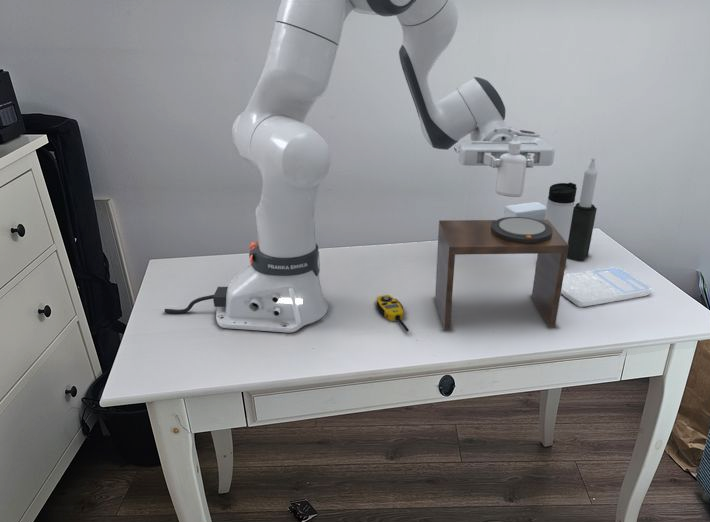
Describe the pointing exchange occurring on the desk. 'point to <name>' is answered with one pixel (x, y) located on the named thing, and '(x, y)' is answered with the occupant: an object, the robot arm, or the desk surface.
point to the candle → (583, 218)
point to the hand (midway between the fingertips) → (513, 163)
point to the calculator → (602, 286)
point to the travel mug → (561, 207)
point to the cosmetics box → (526, 210)
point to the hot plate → (521, 230)
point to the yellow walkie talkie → (390, 309)
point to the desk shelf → (480, 240)
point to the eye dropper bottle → (511, 171)
